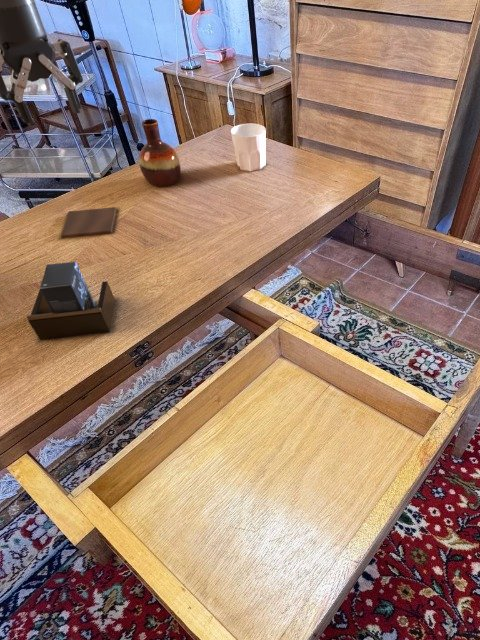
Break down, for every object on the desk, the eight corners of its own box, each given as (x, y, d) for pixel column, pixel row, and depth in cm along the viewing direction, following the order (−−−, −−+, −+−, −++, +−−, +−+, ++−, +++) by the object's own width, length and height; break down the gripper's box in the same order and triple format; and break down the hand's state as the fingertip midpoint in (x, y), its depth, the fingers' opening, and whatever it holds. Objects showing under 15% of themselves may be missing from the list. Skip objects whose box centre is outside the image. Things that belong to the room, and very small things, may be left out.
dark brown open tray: (40, 341, 86) (26, 318, 81) (51, 308, 92) (37, 285, 87) (110, 333, 87) (99, 309, 82) (115, 300, 93) (105, 277, 89)
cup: (229, 170, 132) (224, 134, 124) (244, 157, 138) (240, 121, 130) (259, 175, 129) (256, 139, 122) (273, 162, 135) (271, 126, 127)
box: (92, 329, 88) (70, 284, 79) (63, 332, 87) (37, 288, 79) (96, 304, 92) (76, 260, 84) (68, 308, 92) (45, 263, 84)
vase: (148, 173, 131) (132, 114, 119) (185, 172, 132) (173, 113, 120) (141, 190, 124) (123, 130, 112) (180, 189, 125) (167, 129, 113)
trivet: (62, 239, 109) (60, 235, 108) (70, 215, 116) (68, 211, 116) (112, 234, 110) (110, 230, 109) (116, 210, 118) (115, 207, 117)
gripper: (42, -9, 73) (81, 104, 85) (-49, 4, 67) (7, 123, 79) (62, -4, 69) (99, 114, 82) (-34, 11, 63) (23, 135, 76)
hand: (54, 118), depth 81 cm, fingers open, 8 cm apart
